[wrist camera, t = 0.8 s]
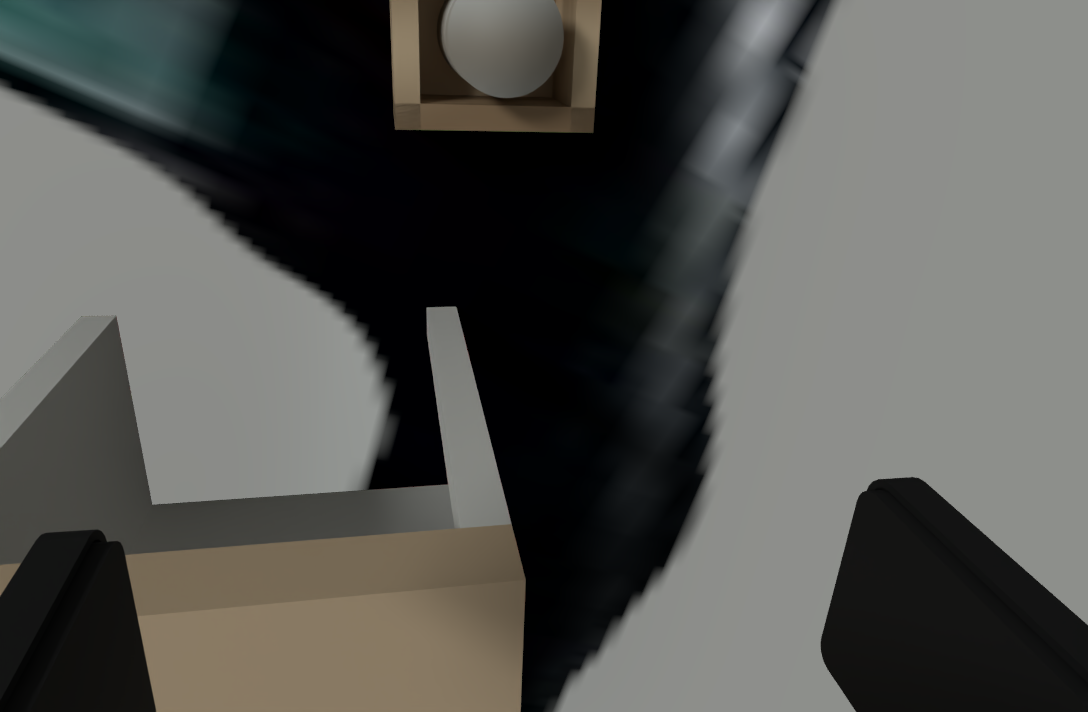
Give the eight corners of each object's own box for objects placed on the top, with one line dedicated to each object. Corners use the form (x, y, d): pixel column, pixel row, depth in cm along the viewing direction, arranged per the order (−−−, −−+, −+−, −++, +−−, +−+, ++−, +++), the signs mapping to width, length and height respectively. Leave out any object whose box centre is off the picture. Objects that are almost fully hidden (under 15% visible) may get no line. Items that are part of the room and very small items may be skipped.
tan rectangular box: (81, 316, 29) (-249, 652, 14) (456, 306, 32) (525, 580, 16) (126, 530, 33) (-94, 977, 18) (457, 506, 36) (514, 877, 20)
